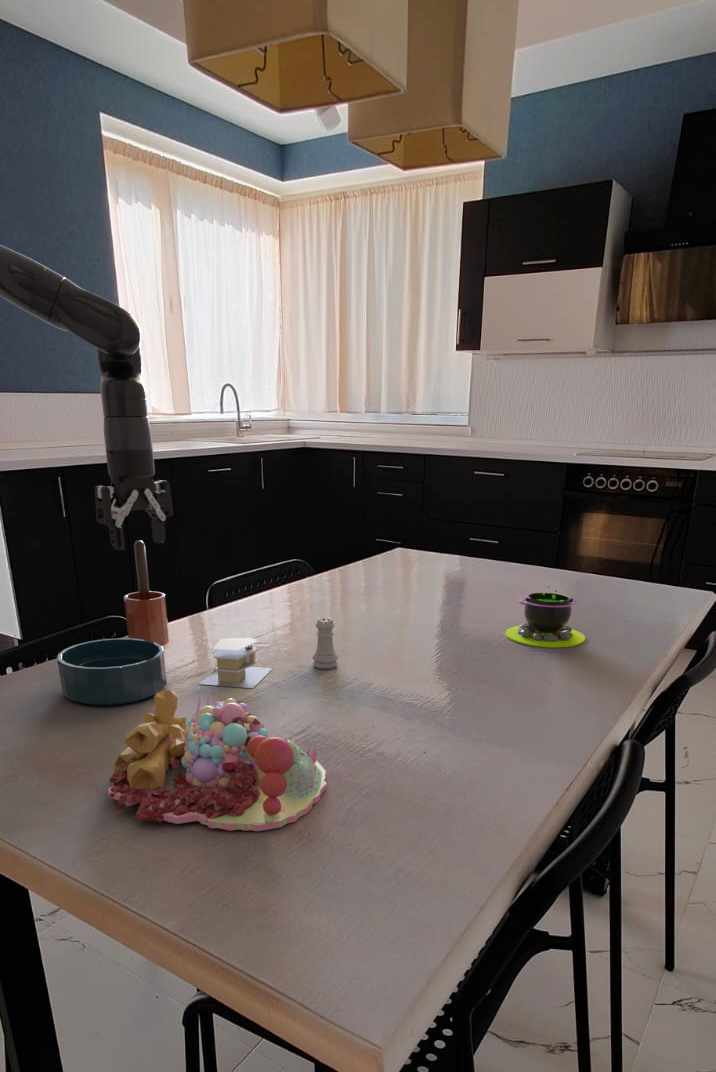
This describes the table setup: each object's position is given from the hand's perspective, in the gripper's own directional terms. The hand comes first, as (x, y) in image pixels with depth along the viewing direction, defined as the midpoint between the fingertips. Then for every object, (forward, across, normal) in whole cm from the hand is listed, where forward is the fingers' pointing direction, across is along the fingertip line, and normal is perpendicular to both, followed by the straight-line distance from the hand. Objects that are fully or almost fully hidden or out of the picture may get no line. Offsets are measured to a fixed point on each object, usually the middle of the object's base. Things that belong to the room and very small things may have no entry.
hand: (139, 546), depth 133 cm
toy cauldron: (+18, -50, +55) cm, 76 cm away
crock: (+18, 0, 0) cm, 18 cm away
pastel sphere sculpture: (+18, +31, +50) cm, 62 cm away
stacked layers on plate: (+18, +3, +25) cm, 31 cm away
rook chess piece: (+18, -10, +33) cm, 39 cm away
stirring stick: (+17, 0, 0) cm, 17 cm away
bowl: (+18, +19, +15) cm, 30 cm away
